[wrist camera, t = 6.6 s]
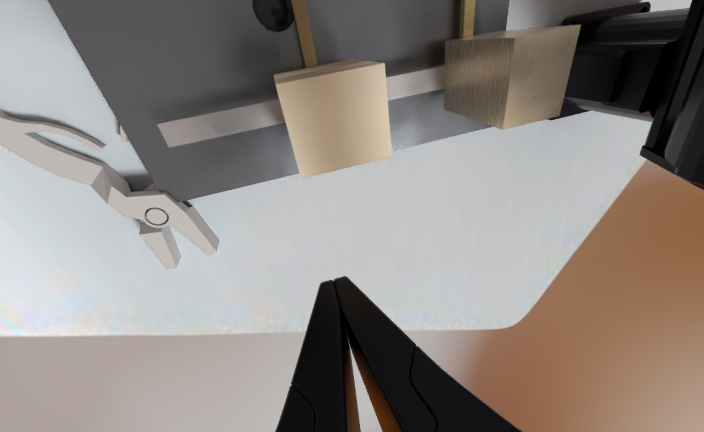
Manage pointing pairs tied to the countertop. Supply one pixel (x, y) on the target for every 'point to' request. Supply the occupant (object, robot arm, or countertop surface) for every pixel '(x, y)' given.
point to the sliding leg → (333, 108)
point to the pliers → (111, 187)
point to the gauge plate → (286, 55)
